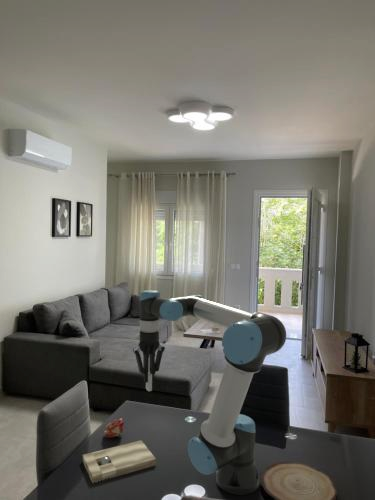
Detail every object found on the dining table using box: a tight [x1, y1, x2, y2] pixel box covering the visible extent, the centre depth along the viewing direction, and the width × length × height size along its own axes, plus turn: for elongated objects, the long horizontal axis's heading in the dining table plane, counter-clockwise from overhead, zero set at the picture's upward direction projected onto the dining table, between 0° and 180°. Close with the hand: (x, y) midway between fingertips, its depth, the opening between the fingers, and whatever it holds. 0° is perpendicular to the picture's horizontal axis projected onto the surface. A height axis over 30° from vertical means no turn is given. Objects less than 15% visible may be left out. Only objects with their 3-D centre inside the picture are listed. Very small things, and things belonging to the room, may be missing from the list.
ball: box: [100, 457, 110, 466], centre depth 147 cm, size 4×4×4 cm
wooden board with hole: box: [82, 439, 157, 484], centre depth 150 cm, size 15×24×2 cm, turn 118°
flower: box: [103, 417, 125, 439], centre depth 169 cm, size 10×9×8 cm
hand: (148, 389), depth 154 cm, fingers closed
